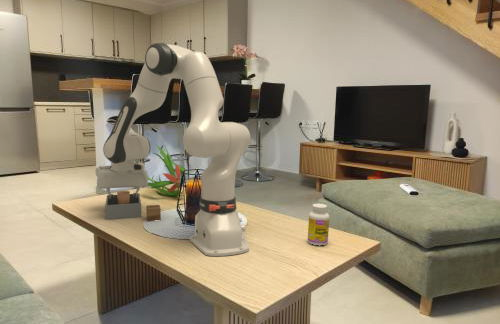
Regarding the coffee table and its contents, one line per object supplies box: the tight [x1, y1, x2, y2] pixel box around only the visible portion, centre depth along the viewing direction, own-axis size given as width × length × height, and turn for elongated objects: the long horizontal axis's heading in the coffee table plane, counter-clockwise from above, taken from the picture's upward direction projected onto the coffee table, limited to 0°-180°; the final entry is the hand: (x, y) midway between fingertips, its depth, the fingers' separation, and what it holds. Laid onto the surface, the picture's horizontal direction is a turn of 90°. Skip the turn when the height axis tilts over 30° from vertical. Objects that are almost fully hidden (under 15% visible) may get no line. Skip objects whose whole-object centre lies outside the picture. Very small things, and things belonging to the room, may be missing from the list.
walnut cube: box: [145, 204, 162, 222], centre depth 143 cm, size 5×5×5 cm
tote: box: [104, 192, 142, 221], centre depth 151 cm, size 17×13×6 cm
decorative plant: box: [145, 144, 187, 197], centre depth 181 cm, size 26×25×30 cm
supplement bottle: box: [307, 203, 330, 246], centre depth 121 cm, size 7×7×13 cm
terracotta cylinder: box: [116, 190, 131, 205], centre depth 154 cm, size 5×5×7 cm
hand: (123, 197), depth 154 cm, fingers open, 8 cm apart
